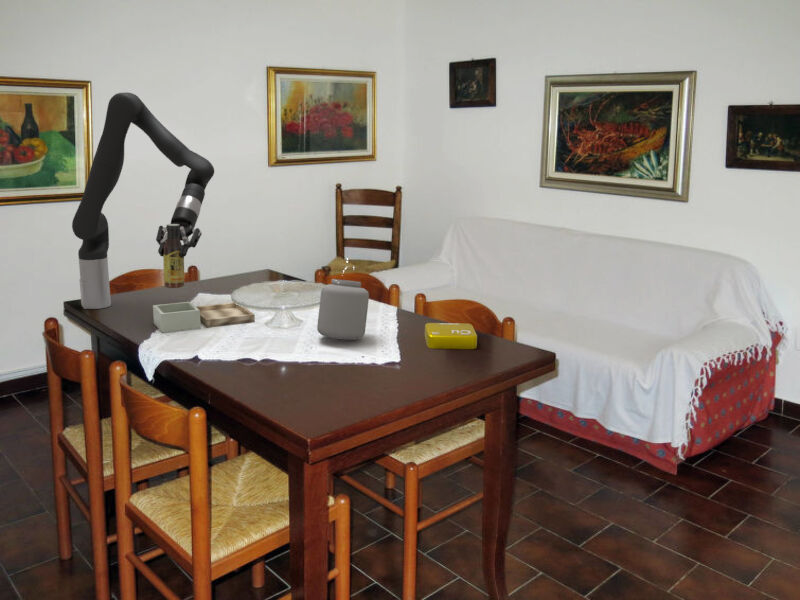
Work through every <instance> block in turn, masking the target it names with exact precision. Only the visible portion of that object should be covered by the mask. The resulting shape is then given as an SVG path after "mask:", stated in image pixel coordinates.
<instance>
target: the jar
mask: <svg viewBox="0 0 800 600" xmlns="http://www.w3.org/2000/svg"><path fill="white" fill-rule="evenodd" d="M346 263H349V258H346ZM352 268H353V271H354V270H355V266H353V267H352ZM345 270H347V267H345V268H344V270H342V272H343V273H342V274H344V272H345ZM361 286H362V282H361V281H356V280H355V281H354V280H346V279H335V278H332V279H331V283H329V284H326V285H324V286H323V287H322V288H321V291H320V297H319V307H318V317H317V326H316V328H317V329H316V330H317V332H318V333H319V334H320V335H322V336H323V337H328V338H332V339H340V340H360V339H362V338H363V337H364V336H365V333H366V326H367V319H368V310H369V309H368V308H369V300H370V293H369V291H368V290H367V289H365V288H364V287H361Z"/></svg>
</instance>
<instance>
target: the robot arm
mask: <svg viewBox="0 0 800 600" xmlns="http://www.w3.org/2000/svg"><path fill="white" fill-rule="evenodd" d="M105 114H106V115H105V120H104V125H103V130H102V134H101V137H100V139H99V142H98V143H97V144H98V145H97V148H96V152H95V154H94V157H93V160H92V164H91V167H90V168H89V169H90V170H89V175H88V177H87V181H86V184H85V188H84V192H83V195H82V198H81V200H80V202H79V205H78V207H77V210H76V211H75V214H74V217H73V219H72V223H71V228H72V232H73V233H74V236H75V237H76V238H78V239H80V240H82V244H81V246H80V248H79V249H78V253H77V254H78V267H79V287H80V289H79V290H80V291H79V293H80V302H81V307H82V309H84V310H99V309H105V308H108V307H110V306H111V305H112V303H111V291H110V290H111V287H110V277H109V276H110V275H109V274H110V273H109V272H110V271H109V261H108V259H109V258H108V251H109V247H110V246H109V245H110V238H109V237H110V234H109V233H110V231H109V222H108V219H107V217H106V215H105V214H104V213H102V211H103V207H104V206H105V203H106V201H107V199H108V198H109V196H110V194H111V193H112V192H113V190H114V188H115V187H116V186H117V184H118V182H119V179H120V176H121V173H122V170H123V165H124V161H125V141H126V137H127V134H128V131H129V128H130V127H131V124H133V125H135V127H138V128H139V129H140V130H141V131H143V133H144V134H146V135H147V136H148V138H149V139H150V140H151V142H152V143H153V144H154V145H155V147H156V148H157V149H158V151H159V152H161V153H162V154H163V156H165V158H167V159H168V160H169V161H170V162H171V163H172V164H173V165H175V166H176V167H178V168H183V167H184V166H185V167H187V168H189V169H190V171H188V174H187V177H186V179H185V183H184V188H183V190H182V193H181V196H180V198H179V200H177V201H178V202H177V203H176V207H175V209H174V211H173V214H172V216H171V220H170V224H179V225H180V230H179V236H180V241H182V242H183V244H182V247H181V250H180V253H179V255H180V257H181V258H184V259H185V257H186V256H187V253H188V250H189V249H190V248H193V249H194V248H196V246H197V244H198V242H199V240H200V238H201V236H202V231H201V229H200V228H198V227H197V228H195V227H196V224H197V222H198V218H199V216H200V212H201V208H202V205H203V202H204V199H205V195H206V192H205V190H206V187H207V186H208V184H209V182H210V181H211V179H212V178H213V176H214V174H215V168H214V166H213V164H212V163H211V162H210V160H208V159H207V158H205V157H203V156H202V155H200V154H198V153H197V152H194V151H193V150H191V149H190V148H189V147H187V146H186V145H185V144H184V143H183V142H182V141H181V140H180V139H179V138H178V137H176V136H175V135H174V134H173V133H172V132H171V131H170V130H168V128H166V126H164V125H163V124H162V123H161V122H160V121H159V120H158V119H157V117H156V116H155V115H154V114H153V113H152V112H151V111H150V109H149V108H148V107H147V106H146V104H145V103H144V101H142V99H141V98H140V97H139V96H138V95H137V94H135V93H132V92H118V93H115V94H114V95H113V96H111V98H110V99H109V102H108V103H107V109H106V113H105ZM191 235H192V236H191ZM190 236H191V238H190V240H189V237H190ZM155 241H156V242H157V245H159V247H158V250H157V251H158V252H157V253H158V254H159V256H160V257H163V254H164V244H165V242H166V241H167V229H166V226H163V225H160V226H158V230H157V234H156V238H155Z"/></svg>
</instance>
